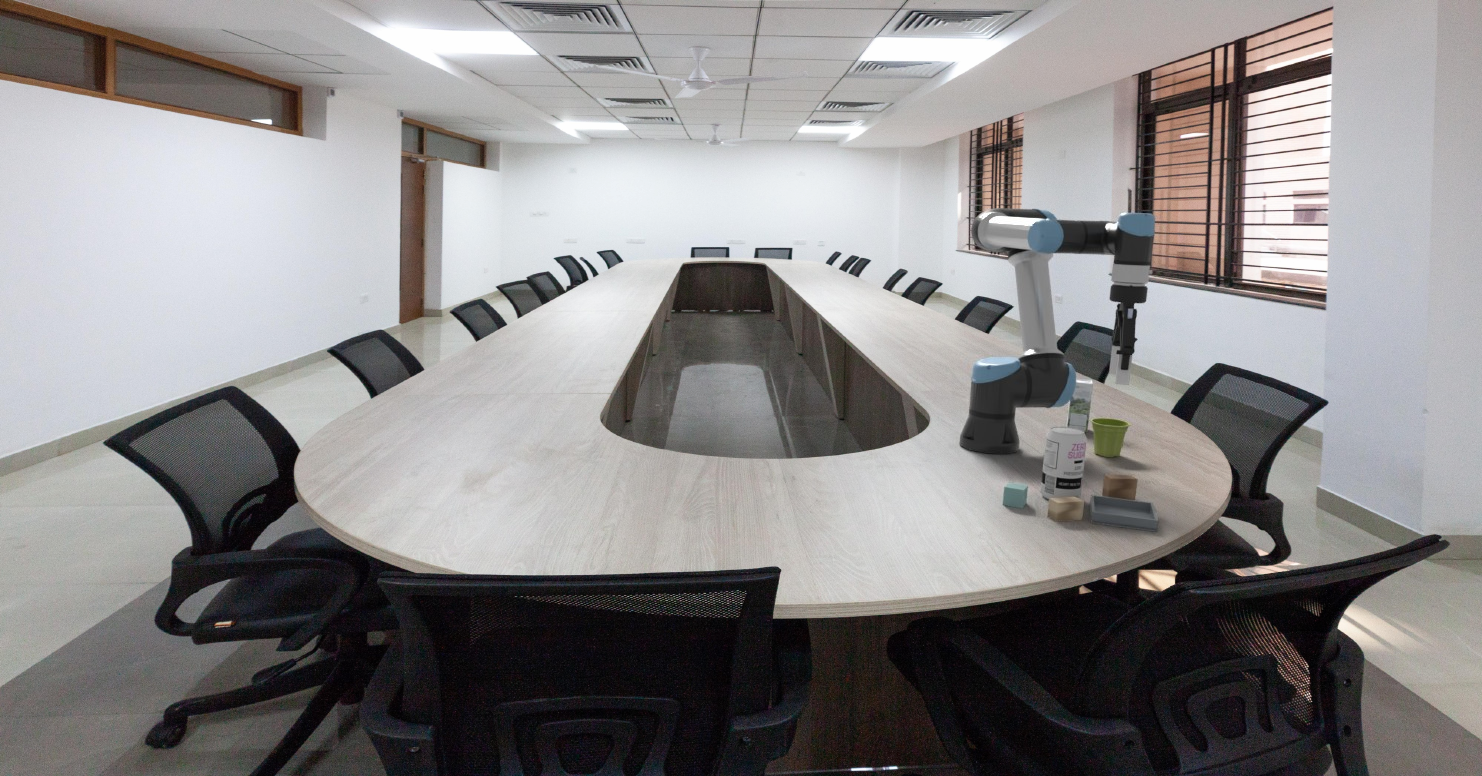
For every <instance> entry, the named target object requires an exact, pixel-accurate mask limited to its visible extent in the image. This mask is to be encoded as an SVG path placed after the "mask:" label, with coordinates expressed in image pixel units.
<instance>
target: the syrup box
mask: <svg viewBox="0 0 1482 776" xmlns="http://www.w3.org/2000/svg"><path fill="white" fill-rule="evenodd" d="M1093 389H1094V383H1093V380H1092V379H1085V378H1084V379H1082V378H1081V379H1080V378H1076V387H1075V391H1074V394H1073V395H1072V398H1071V399H1070V401H1069V402H1068V410H1067V417H1066V418H1067V419H1066V427H1072V428H1077V429H1080V430H1083V431H1084V433H1088V430H1089V424H1090V423H1089V422H1090V414H1091V404H1092V396H1093Z"/></svg>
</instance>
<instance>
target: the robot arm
mask: <svg viewBox="0 0 1482 776" xmlns="http://www.w3.org/2000/svg"><path fill="white" fill-rule="evenodd" d="M1155 227H1156V217H1155V215H1154V214H1153V213H1149V212H1147V213H1143V212H1122V213H1120V214H1119V215H1118V219H1117V221H1112V220H1111V221H1109V220H1073V219H1072V220H1071V219H1067V220H1066V219H1057V217H1056V216H1055V214H1053V213H1052V212H1051V211H1050V210H1045V209H1039V208H1031V209H1030V208H1001V207H996V208H990V209H987V210H985V211H982V212H981V213H979V214H978V215H977V216H976V217H975V219H974V220H973V222H972V225H971V228H970V231H971V232H970V234H971V237H972V240H973V242H974V243H975V245H977V247H979V248H981V249H984V250H985V251H988V252H993V253H1007V261H1008V263H1009V264H1010V265H1012V266H1013V267H1014V272H1015V273H1014V274H1015V283H1016V294H1017V303H1018V313H1019V323H1020V324H1019V325H1020V335H1021V343H1022V345H1021V346H1022V353H1021V354H1020V355H1019V356H1018V358H1017V357H1013V356H992V357H985V358H982V359H979V360H978V361H975V363H974V364H973V367H972V373H971V376H970V394H969V407H968V408H969V409H968V416H967V419H966V421H965V423H964V426H963V428H962V430H961V432H960V435H959V443H958V444H959V445H960V446H961V447H963V448H965V449H967V450H970V451H974V452H979V453H984V454H985V453H986V454H996V455H997V454H1000V455H1001V454H1003V455H1006V454H1014V453H1016V452H1018V451H1020V442H1021V441H1020V437H1019V433H1018V429H1017V424H1016V421H1015V420H1016V419H1015V418H1016V411H1017V408H1021V409H1023V408H1025V409H1027V408H1029V409H1030V408H1031V409H1033V408H1046V409H1051V408H1060V407H1063V406H1066V404H1067V405H1068V404H1069V401H1070V399H1071V398H1072V395H1073V394H1074V391H1075V387H1076V379H1077V373H1076V369H1075V368H1074V366H1073V364H1071V363H1069V362H1066V360H1065V354H1064V353H1063V352H1062V351H1061V350H1060V349H1058V344H1057V342H1058V341H1057V334H1056V323H1055V315H1054V307H1053V297H1052V296H1053V295H1052V287H1051V279H1050V268H1049V261H1050V260H1051V259H1052V258H1053V257H1054V254H1071V255H1072V254H1073V255H1074V254H1075V255H1098V256H1099V255H1100V256H1102V255H1103V256H1113V263H1112V271H1111V278H1110V279H1111V280H1110V281H1111V282H1112V283H1113V284H1111V286H1110V291H1109V300H1110V301H1111V302H1113V303H1117V304H1116V310H1115V320H1114V326H1113V331H1112V337H1111V344H1112V346H1111V354H1110V362H1109V371H1108V374H1109V375H1115V382H1114V383H1115V385H1123V386H1130V379H1131V369H1132V361H1133V354H1135V352H1136V351H1135V350H1136V349H1135V344H1136V343H1135V341H1136V324H1137V323H1136V322H1137V317H1138V309H1137V308H1135V304H1145V303H1146V302H1147V299H1148V290H1149V289H1148V287H1147V286H1146V285H1147V284H1148V283H1149V277H1150V276H1149V275H1152V274H1153V273H1154V272H1153V269H1150V268H1151V262H1152V256H1153V247H1154V241H1155V234H1156V230H1155Z"/></svg>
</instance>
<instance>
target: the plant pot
mask: <svg viewBox="0 0 1482 776" xmlns="http://www.w3.org/2000/svg"><path fill="white" fill-rule="evenodd" d="M1090 423H1091V427H1092V429H1093V453H1094V454H1095V455H1099V456H1100V457H1105V458H1106V457H1108V458H1115V457H1117V458H1118V457H1119V456H1120V455H1121V452H1122V447H1123V443H1124V439H1125V437H1126V433H1127V431H1128V428H1129V427H1130V426H1131V424H1130V422H1128V421H1126V420H1122V419H1116V418H1109V417H1108V418H1107V417H1099V418H1098V417H1097V418H1092V419H1090Z"/></svg>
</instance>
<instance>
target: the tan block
mask: <svg viewBox="0 0 1482 776" xmlns="http://www.w3.org/2000/svg"><path fill="white" fill-rule="evenodd" d="M1084 504H1085V501H1084V500H1082V499H1081V498H1077V497H1060V498H1049V499H1048V506H1047V507H1048V508H1047V515H1046V516H1047V518H1049V519H1051V520H1053V521H1055V522H1066V521H1067V522H1068V521H1070V522H1071V521H1081V520H1083V514H1084Z"/></svg>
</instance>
